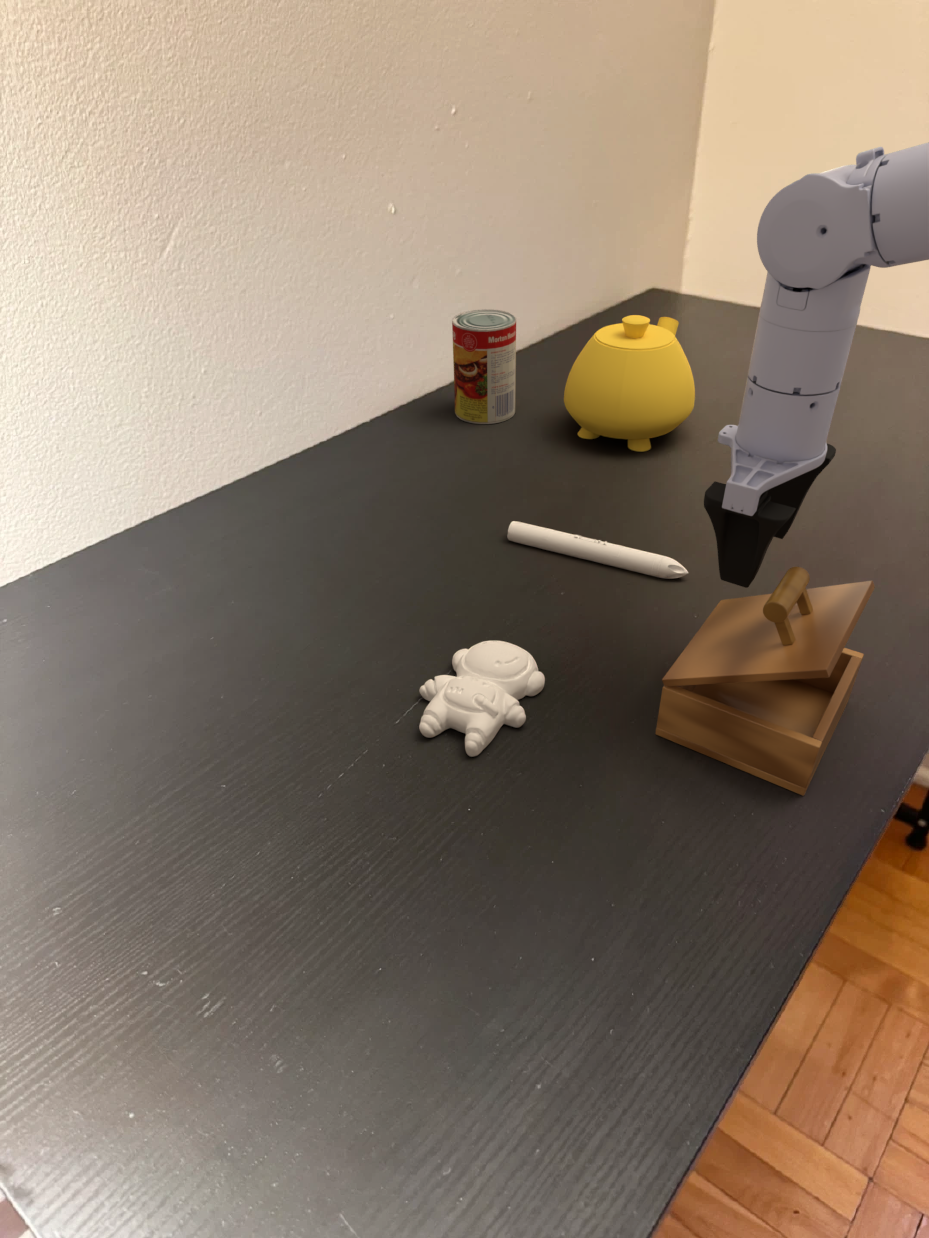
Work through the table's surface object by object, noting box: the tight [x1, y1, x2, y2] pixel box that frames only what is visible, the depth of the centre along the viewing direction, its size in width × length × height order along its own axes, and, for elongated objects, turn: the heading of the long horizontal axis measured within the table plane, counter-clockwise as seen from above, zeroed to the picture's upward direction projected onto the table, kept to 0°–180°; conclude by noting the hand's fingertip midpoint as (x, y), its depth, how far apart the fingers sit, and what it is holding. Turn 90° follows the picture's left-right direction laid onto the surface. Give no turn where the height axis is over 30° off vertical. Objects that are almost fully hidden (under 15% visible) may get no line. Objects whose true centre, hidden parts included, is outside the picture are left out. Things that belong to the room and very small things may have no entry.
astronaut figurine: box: [418, 640, 546, 758], centre depth 65 cm, size 9×12×3 cm
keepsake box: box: [654, 647, 865, 797], centre depth 62 cm, size 11×11×5 cm
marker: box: [506, 520, 689, 580], centre depth 81 cm, size 18×2×2 cm, turn 63°
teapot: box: [563, 314, 696, 452], centre depth 102 cm, size 20×16×14 cm
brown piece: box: [661, 566, 876, 686], centre depth 59 cm, size 12×11×4 cm
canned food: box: [451, 308, 517, 425], centre depth 106 cm, size 8×8×12 cm
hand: (753, 556), depth 62 cm, fingers open, 7 cm apart
